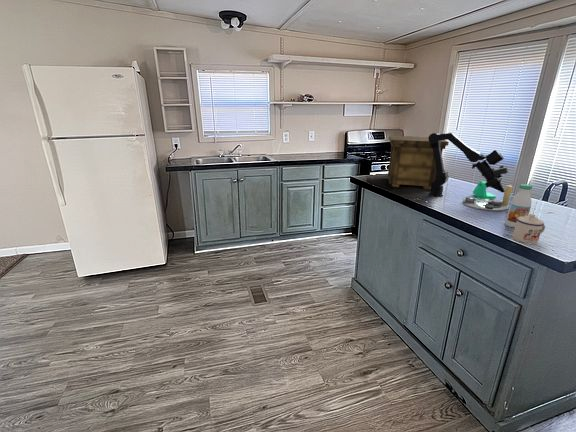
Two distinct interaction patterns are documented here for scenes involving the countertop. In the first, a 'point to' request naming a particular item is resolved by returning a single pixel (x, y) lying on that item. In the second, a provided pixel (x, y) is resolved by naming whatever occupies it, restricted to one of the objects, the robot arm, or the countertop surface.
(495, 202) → the tan post with disc
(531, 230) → the teacup with lid
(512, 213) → the milk bottle
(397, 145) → the crate
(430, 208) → the countertop surface
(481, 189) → the camera mount
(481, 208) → the plate
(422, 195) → the countertop surface
